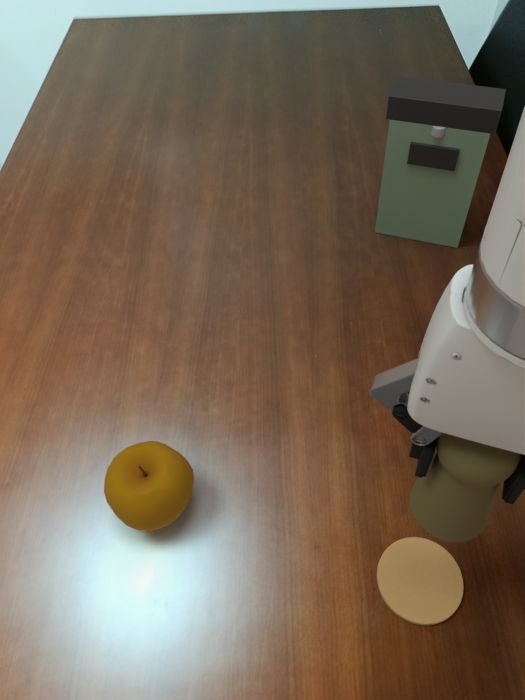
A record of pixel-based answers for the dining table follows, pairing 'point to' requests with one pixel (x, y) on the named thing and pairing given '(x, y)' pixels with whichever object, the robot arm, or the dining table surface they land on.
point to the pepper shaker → (460, 488)
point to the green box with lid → (434, 157)
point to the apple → (148, 485)
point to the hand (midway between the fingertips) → (465, 470)
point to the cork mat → (420, 581)
